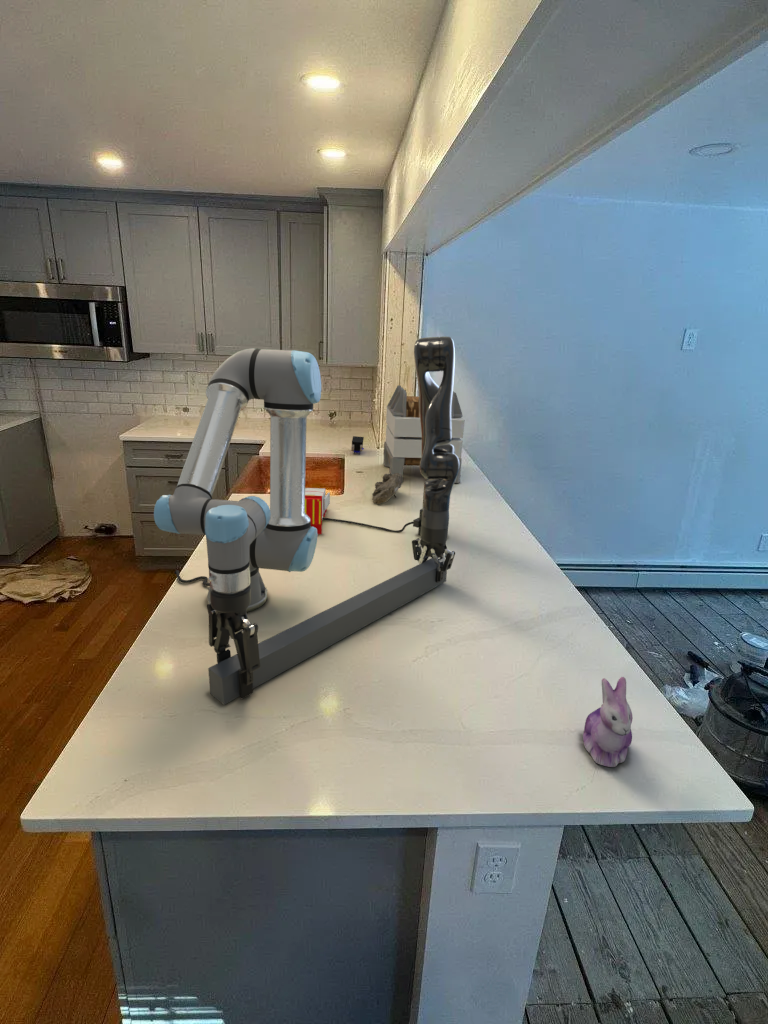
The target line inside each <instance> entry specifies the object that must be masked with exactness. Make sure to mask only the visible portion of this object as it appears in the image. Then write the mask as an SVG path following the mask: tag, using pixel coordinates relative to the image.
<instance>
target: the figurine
mask: <svg viewBox="0 0 768 1024" xmlns="http://www.w3.org/2000/svg"><path fill="white" fill-rule="evenodd" d="M601 693H602V695H601V696H602V704H601V706H600V707H597V709H595V710H594V711H592V712H590V713H589V714H588V715H587V717H586V719H585V722H584V727H583V728H584V729H583V734H582V739H583V746H584V748H585V750H586V751H587V752H588V754H589V755H590V756H591V758H592V760H593V761H594V763H595V764H598V765H600V766H604V767H608V768H615V767H617V766H618V764H621V763H625V761H626V759H627V754H628V751H629V747H630V746H631V744H632V742H633V731H632V722H633V712H632V709H631V707H630V704H629V702H628V700H627V679H626V678H625V677H624V676H621V677H619V679H618V680H617V682H616V686H615V688H613V687H612V685H611V683H610V682H609V680H607V678H605V677H603V678H602V679H601Z"/></svg>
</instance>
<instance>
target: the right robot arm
mask: <svg viewBox="0 0 768 1024" xmlns="http://www.w3.org/2000/svg"><path fill="white" fill-rule="evenodd" d="M455 350H456V349H455V342H454V340H453V338H452V336H430V337H427V336H426V337H421V338H418V339H416V340H415V343H414V346H413V355H414V356H413V358H414V365H415V373H416V379H417V388H418V397H419V415H420V423H421V435H422V444H421V461H420V466H419V473H420V474H421V476H422V477H423V478H424V479H425V480H424V482H423V493H422V496H423V497H422V506H421V508H420V509H419V516H418V517H417V518H414V519H413V521H409V522H407V523H405V524H404V525H403V527H401V529H399V530H393V529H389V528H387V527H382V526H376V525H373V524H372V525H371V524H367V523H362V522H358V521H351V520H346V519H345V520H344V519H340V518H339V519H337V518H329V517H323V519H322V521H329V522H330V521H331V522H339V523H340V522H341V523H345V524H351V525H356V526H357V525H358V526H362V527H368V528H372V529H377V530H383V531H385V532H390V533H402V532H404V531H405V529H406V527H408V526H410V525H412V527H413V528H418V530H417V535H418V536H420V538H415V539H412V540H411V547H412V554H413V560H414V561H417V562H418V565H419V564H421V563H423V562H425V561H427V560H429V558H430V559H431V558H433V560H434V563H435V564H436V568H437V571H436V578H435V582H437V583H439V582H441V581H442V580H443V574H444V572H445V571H446V570H447V571H448V570H450V569H451V567H452V565H453V562H454V559H455V557H456V552H455V551H454V550H452V551H451V550H450V549H448V546H447V541H448V536H449V534H448V533H449V527H450V525H449V524H450V504H451V494H452V491H453V488H454V484H455V483H454V482H455V479H456V477H457V474H458V472H459V468H460V462H459V459H458V457H457V455H456V454H455V449H454V446H453V445H452V444H449V443H450V442H451V439H452V427H451V405H452V394H453V391H454V383H455V382H454V381H455V366H456V365H455V364H456V353H455V352H456V351H455ZM436 372H442V377H441V378H442V379H441V381H440V384H439V385H438V384H437V383H436V381H434V379H433V378H432V376H431V374H430V373H436Z"/></svg>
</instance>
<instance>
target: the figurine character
mask: <svg viewBox="0 0 768 1024" xmlns="http://www.w3.org/2000/svg"><path fill="white" fill-rule="evenodd" d="M363 450H364V436H357V435H353V436H352V439H351V449H350V451H351V452H353V455H356V454H358V455H361V452H363Z"/></svg>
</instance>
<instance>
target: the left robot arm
mask: <svg viewBox="0 0 768 1024" xmlns="http://www.w3.org/2000/svg"><path fill="white" fill-rule="evenodd" d="M319 367H320V366H319V363H318V360H317V359H316V357H315V356H314V355H313V354H312V353H311V352H308V351H301V350H296V349H293V350H292V349H291V350H287V349H271V348H270V349H268V348H256V347H255V348H244V349H242V350H239V351H237V352H235V353H234V354H232V355H230V356H229V357H228V358H226V359H225V360H224V361H223V362H222V363H221V364H220V365H219V366H218V368H217V369H216V370H215V371H214V373H213V374H212V376H211V377H210V379H209V381H208V384H207V387H206V389H205V396H206V398H207V401H206V403H205V407H204V409H203V412H202V415H201V418H200V421H199V423H198V425H197V428H196V431H195V434H194V437H193V439H192V443H191V444H190V448H189V451H188V454H187V456H186V459H185V462H184V465H183V468H182V470H181V473H180V476H179V479H178V482H177V484H176V486H175V488H174V491H173V494H163V495H160V497H159V499H157V500H156V502H155V505H154V509H153V520H154V523H155V525H156V526H157V528H158V529H159V530H160V531H162V532H169V533H174V534H178V535H181V534H184V535H185V534H186V535H187V534H188V535H200V536H205V543H206V552H207V568H208V576H204V575H202V576H197V577H193V578H191V579H183V578H182V577H181V575H180V570H179V569H177V570H175V571H174V572H173V573H174V574H175V575H176V578H177V580H178V582H180V583H181V584H190V583H193V582H196V581H201V580H202V585H203V586H205V587H208V591H207V604H206V609H207V613H208V645H209V646H210V647H212V648H213V650H214V653H216V664H218V663H220V662H222V661H224V660H226V659H228V658H230V657H232V654H231V649H229V648H231V644H230V639H232V640H233V643H234V647H235V652H236V654H237V655H238V659H239V663H240V667H241V669H239V670H238V676H239V695H240V696H239V698H240V699H241V700H243V699H245V698H246V697H249V696H250V695H252V694H254V689H253V671H255V670H257V669H259V668H260V658H259V648H258V643H259V641H258V640H259V638H258V631H259V624H258V623H257V622H253V623H251V622H250V620H249V616H248V613H249V612H251V611H254V610H257V609H258V608H260V607H261V606H263V605H264V604H265V603H266V602H267V599H268V589H267V587H266V584H265V583H264V580H263V578H262V576H261V573H260V569H264V570H273V571H282V572H289V573H291V572H296V573H297V572H299V573H302V572H303V573H304V572H306V571H307V570H308V569H309V568H310V567H311V565H312V562H313V559H314V556H315V553H316V548H317V543H318V535H319V534H318V533H317V528H315V527H313V526H312V527H311V519H310V517H309V516H308V515H307V514H306V513H305V488H306V470H307V469H306V468H307V464H306V463H307V423H308V422H307V418H308V416H309V415H310V414H311V413H312V412H313V411H314V405H315V404H318V403H319V402H320V400H321V399H322V376H321V371H320V368H319ZM252 400H263V409H264V410H265V411H266V413H268V415H269V416H270V419H269V421H270V422H269V423H270V425H269V426H270V428H269V431H270V433H269V434H270V436H269V437H270V438H269V439H270V440H269V441H270V442H269V443H270V444H269V445H270V446H269V447H270V448H269V450H270V451H269V454H270V455H269V457H270V458H269V482H270V483H269V504H268V503H267V502H266V501H265V500H264V499H263V498H261V497H259V496H256V495H249V496H246V497H243V498H241V499H239V500H230V499H229V500H227V499H216V498H213V496H214V493H215V489H216V486H217V483H218V480H219V477H220V475H221V471H222V468H223V465H224V462H225V460H226V456H227V454H228V450H229V447H230V444H231V441H232V439H233V435H234V432H235V429H236V425H237V423H238V420H239V416H240V413H241V412H243V411H244V410H245V409H246V408H247V407H248V403H249V401H252ZM179 575H180V576H179ZM247 612H248V613H247Z"/></svg>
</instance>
